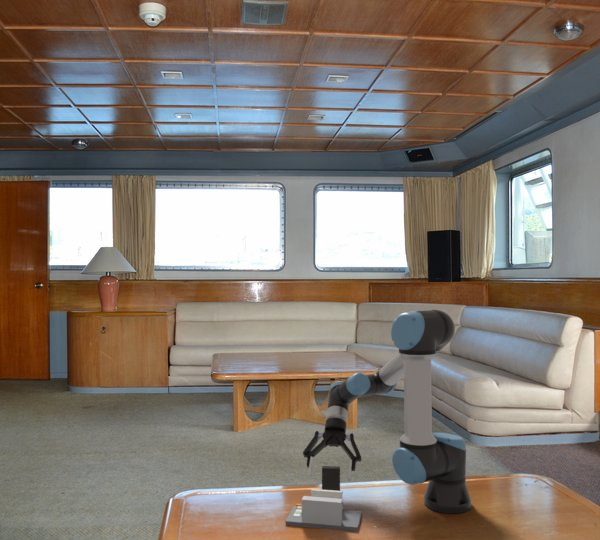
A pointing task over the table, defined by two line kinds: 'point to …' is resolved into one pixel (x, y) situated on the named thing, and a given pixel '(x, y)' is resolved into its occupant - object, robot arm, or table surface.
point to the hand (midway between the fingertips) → (329, 477)
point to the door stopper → (330, 478)
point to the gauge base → (346, 518)
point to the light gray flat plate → (324, 494)
